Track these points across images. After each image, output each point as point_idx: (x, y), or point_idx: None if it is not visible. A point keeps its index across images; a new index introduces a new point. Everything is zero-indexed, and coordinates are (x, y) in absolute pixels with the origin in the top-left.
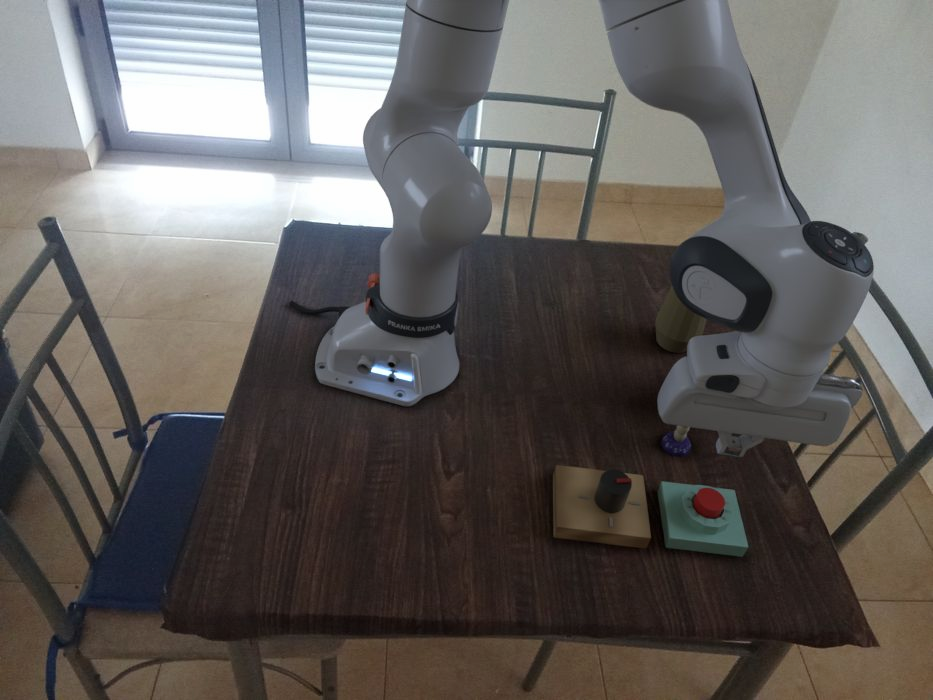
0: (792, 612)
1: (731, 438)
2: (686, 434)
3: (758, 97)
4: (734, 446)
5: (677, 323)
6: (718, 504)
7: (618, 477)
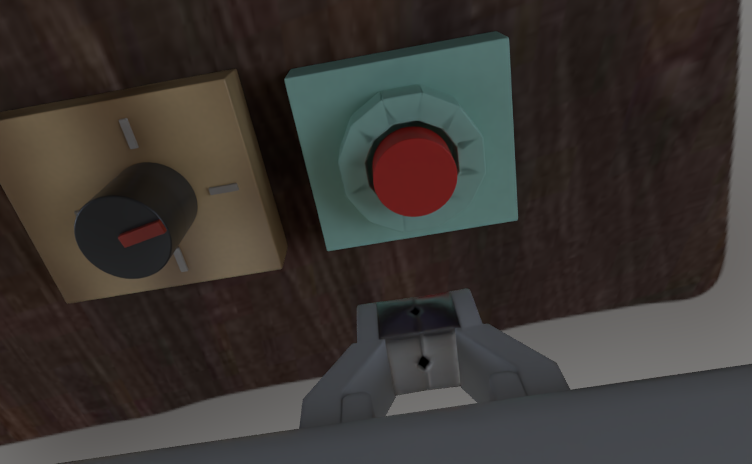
0: (590, 291)
1: (414, 347)
2: None
3: None
4: (425, 384)
5: None
6: (436, 192)
7: (123, 223)
